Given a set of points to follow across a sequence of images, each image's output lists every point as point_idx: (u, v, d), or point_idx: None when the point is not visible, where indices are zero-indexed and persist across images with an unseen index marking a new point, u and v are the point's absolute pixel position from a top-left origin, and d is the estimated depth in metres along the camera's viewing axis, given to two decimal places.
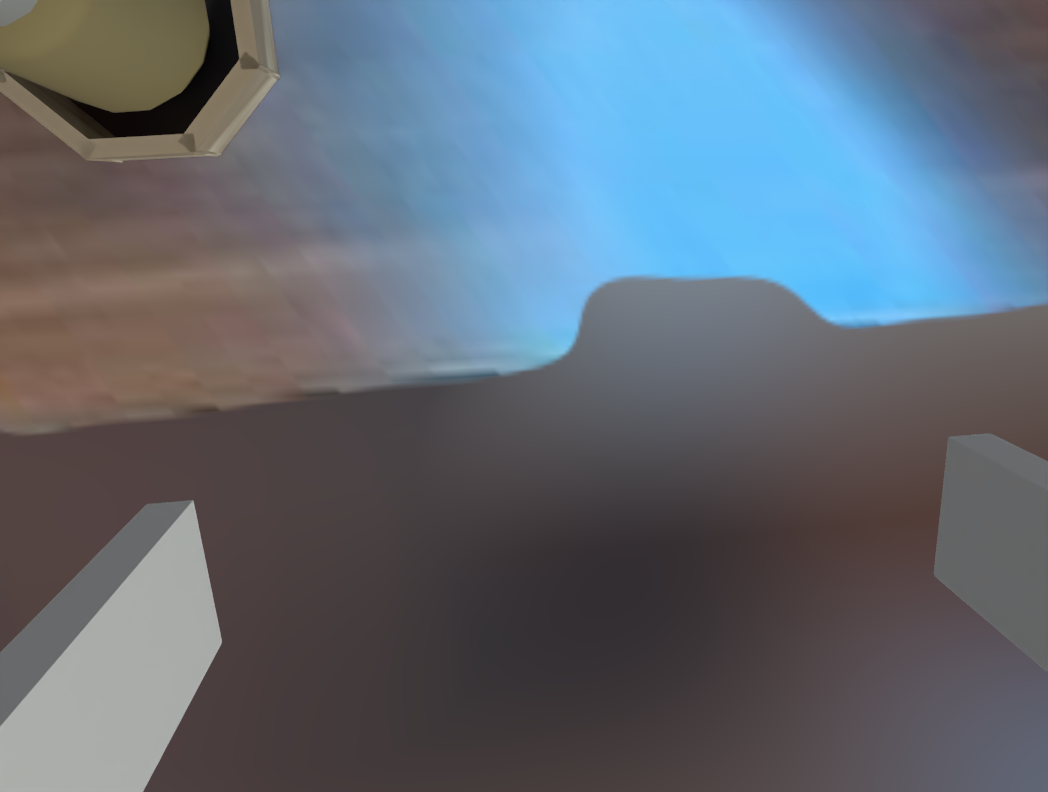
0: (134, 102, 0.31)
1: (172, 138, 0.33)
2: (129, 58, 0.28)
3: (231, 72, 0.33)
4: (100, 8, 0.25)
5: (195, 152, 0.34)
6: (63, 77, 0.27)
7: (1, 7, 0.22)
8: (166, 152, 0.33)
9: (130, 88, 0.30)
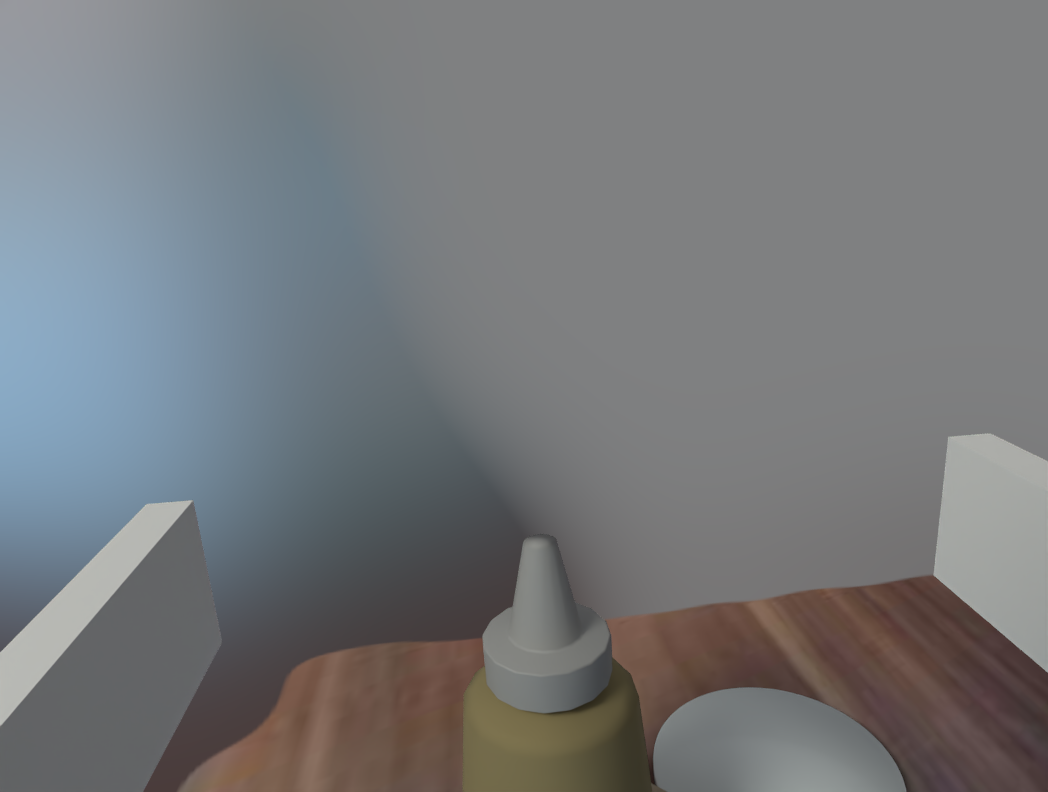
0: None
1: None
2: None
3: None
4: (513, 765, 0.25)
5: None
6: None
7: (492, 666, 0.26)
8: None
9: None
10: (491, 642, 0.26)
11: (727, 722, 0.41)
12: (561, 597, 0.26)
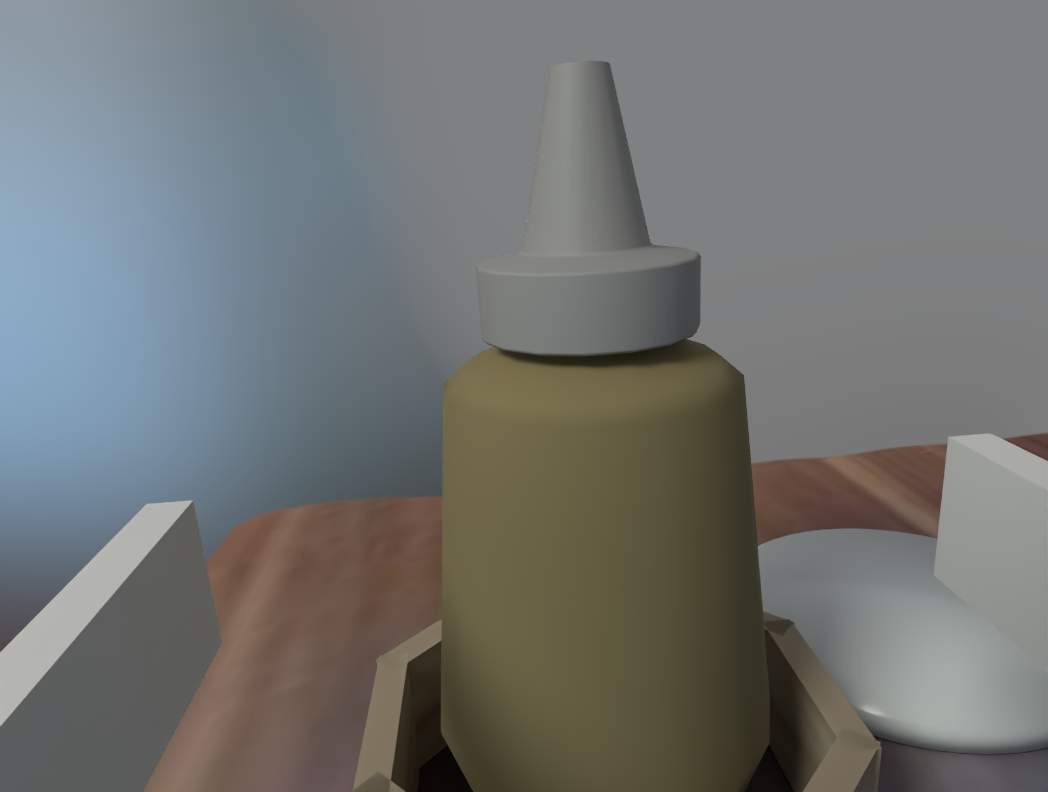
0: (441, 676, 0.17)
1: (386, 764, 0.17)
2: (481, 577, 0.15)
3: None
4: (528, 445, 0.14)
5: None
6: None
7: (491, 285, 0.14)
8: (362, 753, 0.17)
9: (451, 636, 0.16)
10: (491, 262, 0.15)
11: (822, 562, 0.29)
12: (617, 159, 0.14)
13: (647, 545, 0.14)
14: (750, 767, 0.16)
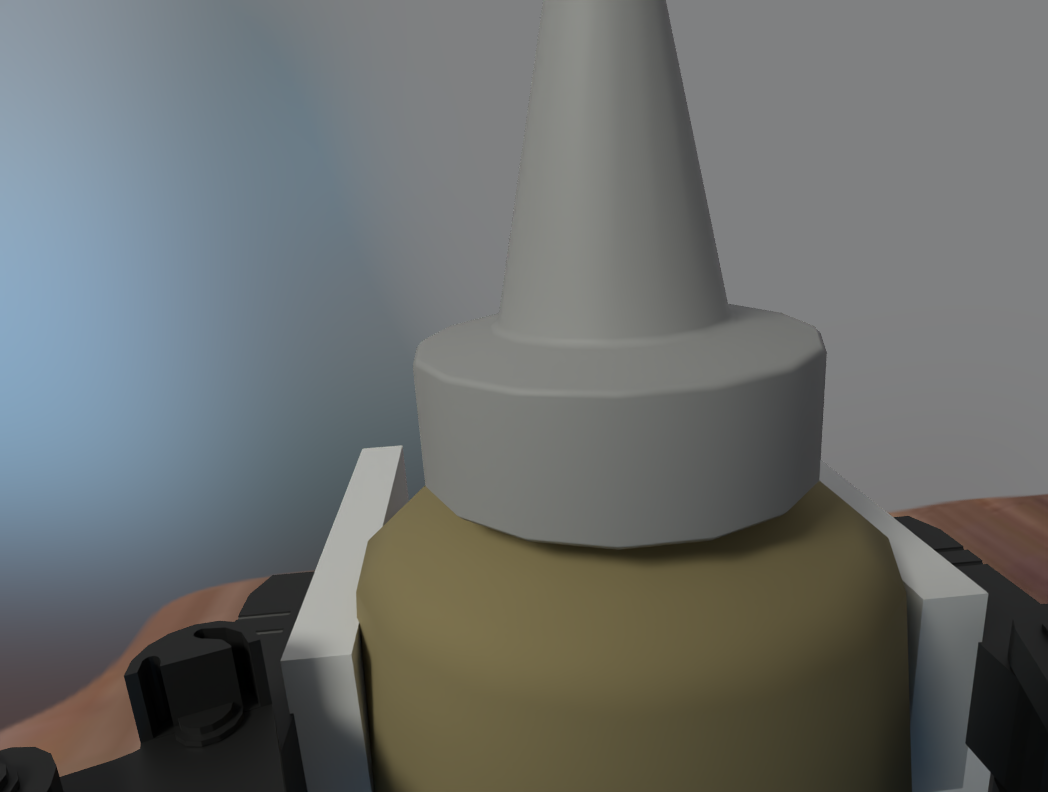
0: None
1: None
2: None
3: None
4: (507, 737, 0.07)
5: None
6: None
7: (438, 399, 0.08)
8: None
9: None
10: (440, 347, 0.08)
11: None
12: (676, 158, 0.07)
13: None
14: None
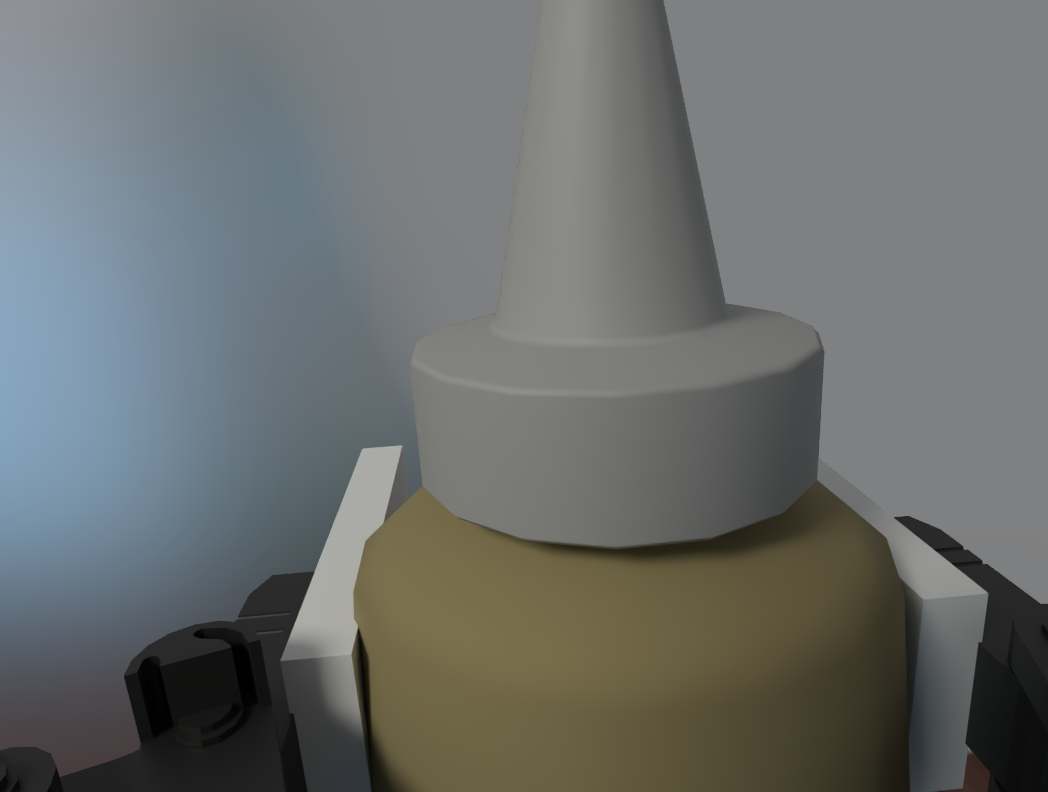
0: None
1: None
2: None
3: None
4: (502, 737, 0.07)
5: None
6: None
7: (434, 399, 0.08)
8: None
9: None
10: (437, 347, 0.08)
11: None
12: (674, 157, 0.07)
13: None
14: None
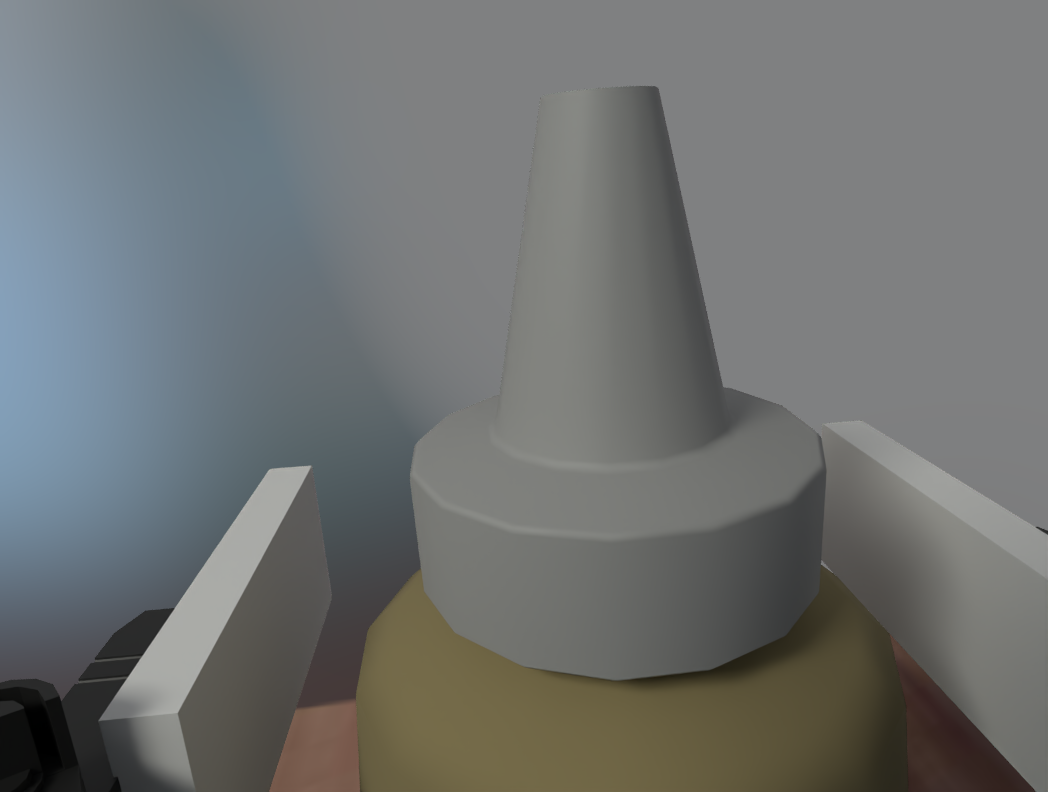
0: None
1: None
2: None
3: None
4: None
5: None
6: None
7: (434, 521, 0.07)
8: None
9: None
10: (437, 455, 0.08)
11: None
12: (674, 277, 0.07)
13: None
14: None
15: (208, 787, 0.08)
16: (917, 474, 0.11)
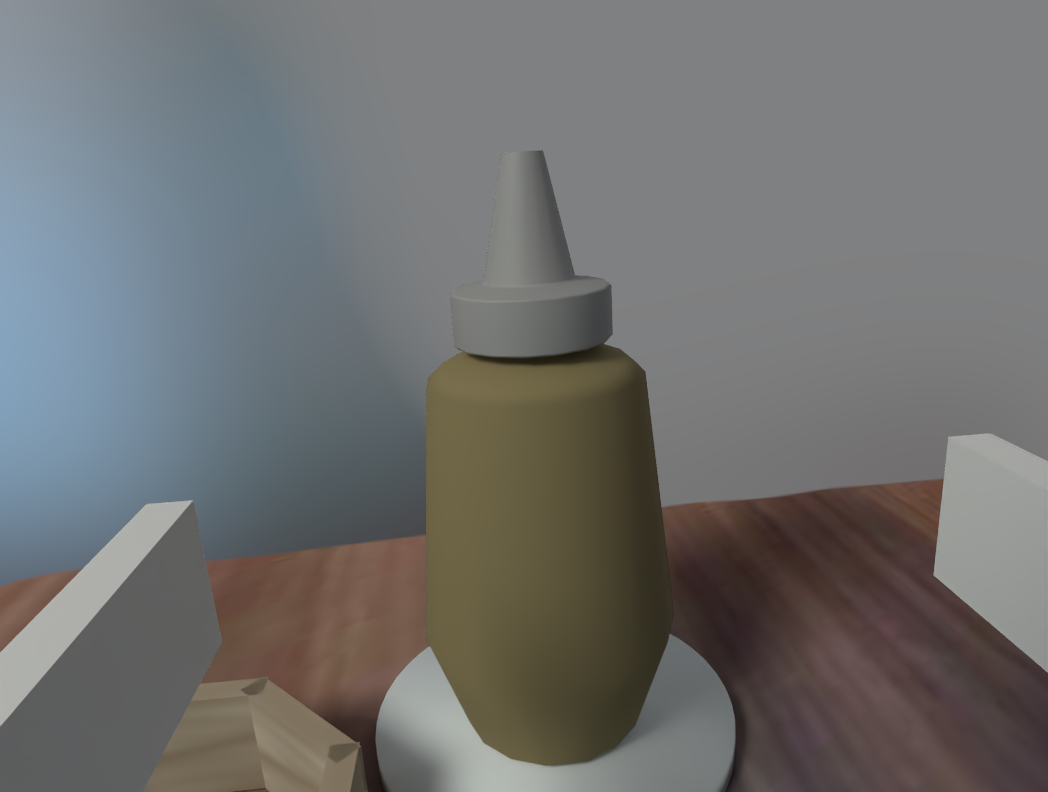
0: (426, 595, 0.23)
1: None
2: (453, 515, 0.21)
3: None
4: (484, 419, 0.19)
5: None
6: None
7: (460, 308, 0.20)
8: None
9: (433, 563, 0.22)
10: (460, 290, 0.21)
11: None
12: (548, 218, 0.20)
13: (567, 490, 0.20)
14: (650, 656, 0.22)
15: None
16: None
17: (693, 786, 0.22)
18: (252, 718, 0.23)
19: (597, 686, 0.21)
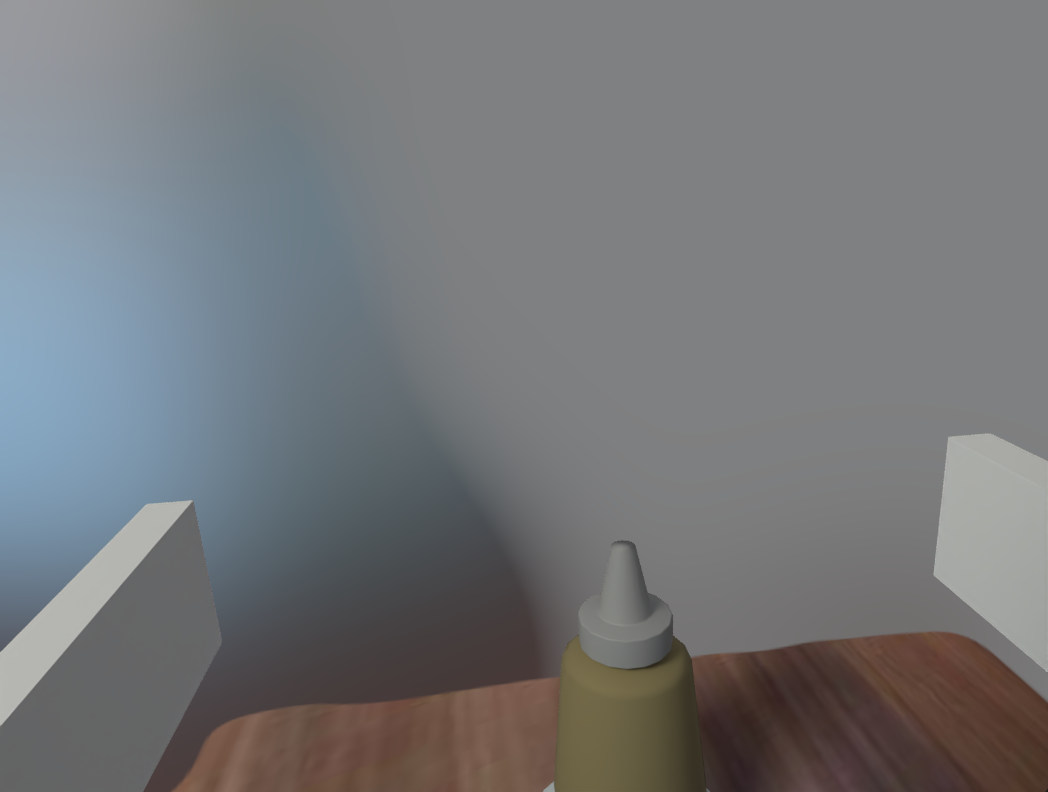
0: (559, 784, 0.38)
1: None
2: (583, 750, 0.36)
3: None
4: (605, 705, 0.35)
5: None
6: (562, 703, 0.38)
7: (588, 635, 0.36)
8: None
9: (566, 769, 0.38)
10: (585, 618, 0.36)
11: None
12: (638, 586, 0.36)
13: (650, 744, 0.35)
14: None
15: None
16: None
17: None
18: None
19: None
